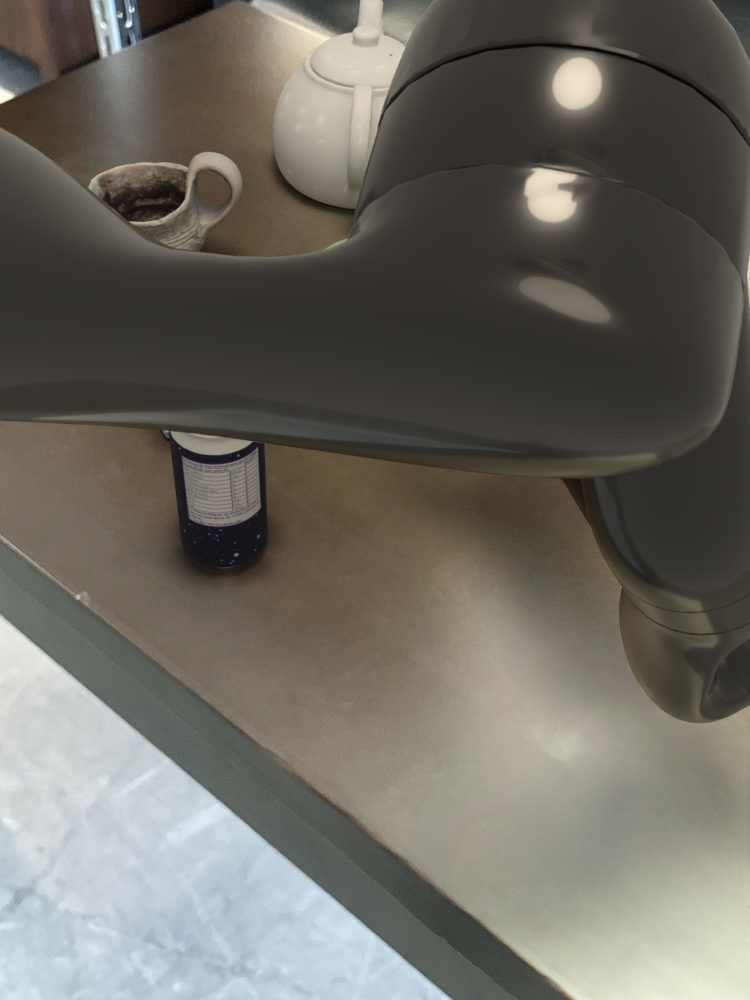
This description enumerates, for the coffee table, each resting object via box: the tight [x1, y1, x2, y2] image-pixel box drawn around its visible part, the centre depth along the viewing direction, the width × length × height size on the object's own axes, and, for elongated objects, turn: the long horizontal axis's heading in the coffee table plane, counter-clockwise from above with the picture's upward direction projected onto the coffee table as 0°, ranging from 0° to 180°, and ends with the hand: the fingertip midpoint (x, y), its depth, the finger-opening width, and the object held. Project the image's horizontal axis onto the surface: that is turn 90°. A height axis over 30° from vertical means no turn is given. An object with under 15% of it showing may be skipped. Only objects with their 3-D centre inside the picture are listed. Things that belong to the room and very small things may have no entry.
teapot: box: [272, 0, 406, 210], centre depth 105 cm, size 19×18×14 cm
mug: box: [87, 151, 243, 252], centre depth 95 cm, size 10×12×10 cm
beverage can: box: [168, 431, 269, 569], centre depth 72 cm, size 6×6×12 cm
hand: (480, 238), depth 75 cm, fingers open, 8 cm apart
